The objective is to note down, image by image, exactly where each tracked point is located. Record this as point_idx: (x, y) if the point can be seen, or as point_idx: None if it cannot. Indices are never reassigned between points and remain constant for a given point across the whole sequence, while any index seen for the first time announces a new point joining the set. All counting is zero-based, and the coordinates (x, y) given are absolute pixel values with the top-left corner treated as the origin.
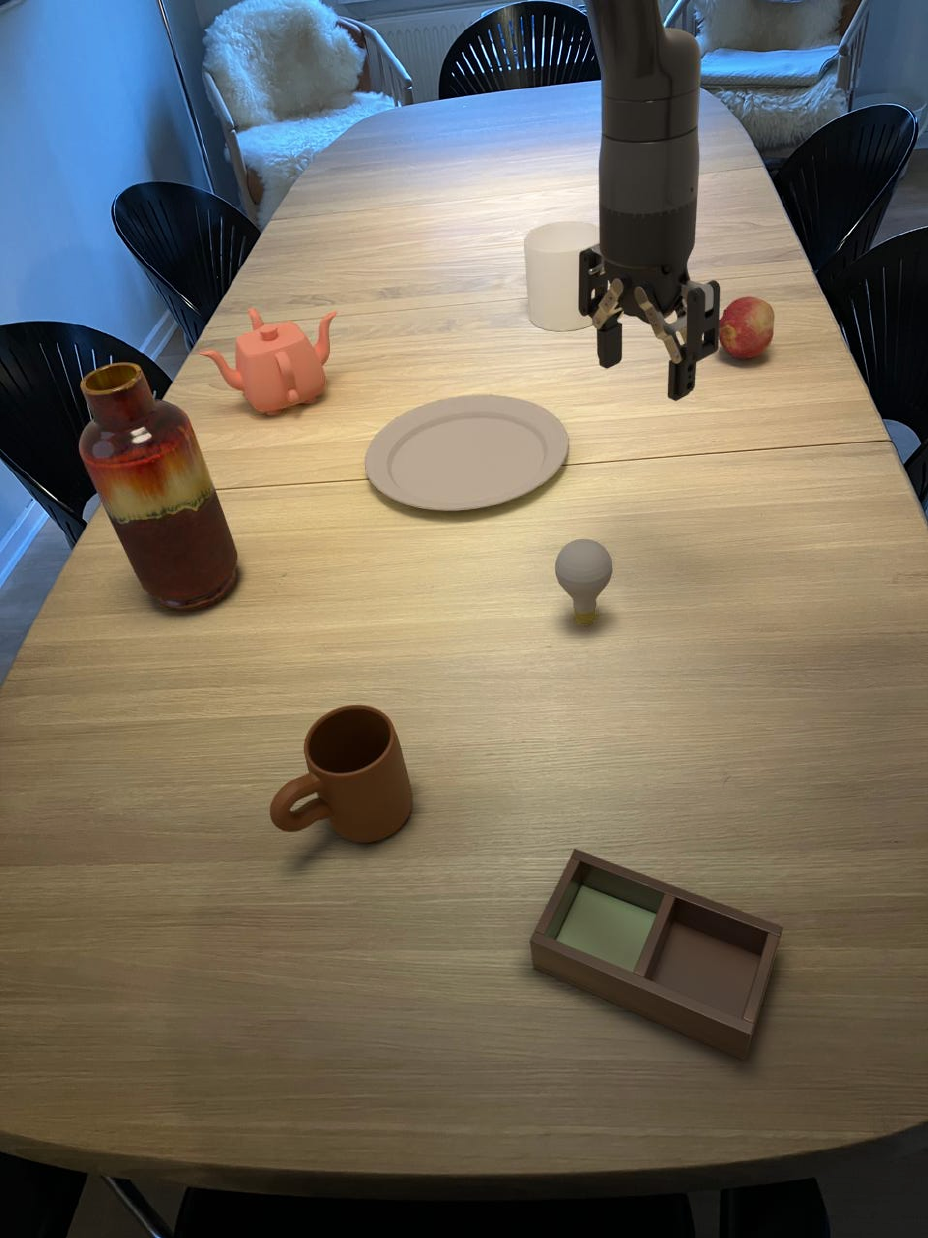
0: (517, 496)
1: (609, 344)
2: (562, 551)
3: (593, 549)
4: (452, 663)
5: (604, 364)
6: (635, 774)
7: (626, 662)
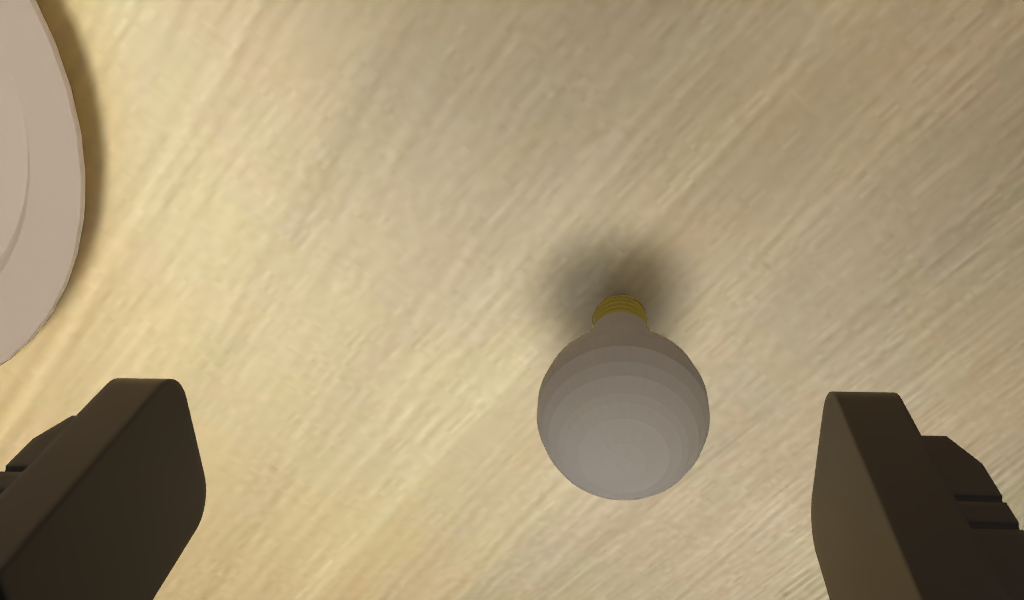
0: (81, 153)
1: (119, 595)
2: (576, 483)
3: (656, 447)
4: (515, 566)
5: (192, 530)
6: (1020, 515)
7: (794, 331)
